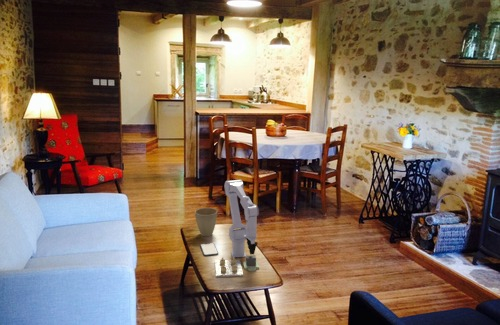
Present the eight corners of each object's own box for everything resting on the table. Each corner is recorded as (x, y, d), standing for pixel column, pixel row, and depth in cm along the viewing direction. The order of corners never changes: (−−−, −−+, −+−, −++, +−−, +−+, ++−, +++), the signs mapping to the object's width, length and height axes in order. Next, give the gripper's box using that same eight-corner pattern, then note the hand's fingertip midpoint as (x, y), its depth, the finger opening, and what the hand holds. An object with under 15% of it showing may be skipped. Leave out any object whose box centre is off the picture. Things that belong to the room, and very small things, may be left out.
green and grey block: (242, 262, 234) (242, 252, 233) (256, 261, 235) (257, 252, 234) (244, 271, 224) (244, 261, 222) (259, 270, 225) (259, 260, 223)
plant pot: (193, 231, 280) (193, 208, 277) (215, 229, 284) (215, 207, 281) (196, 239, 266) (196, 215, 263) (219, 237, 270) (219, 214, 267)
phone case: (218, 256, 244) (214, 245, 259) (218, 253, 244) (213, 242, 259) (203, 257, 242) (199, 246, 257) (203, 255, 241) (199, 243, 256)
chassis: (215, 262, 234) (214, 254, 233) (239, 261, 236) (239, 253, 235) (216, 277, 216) (216, 269, 216) (243, 276, 218) (243, 268, 217)
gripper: (242, 223, 231) (242, 246, 234) (245, 232, 217) (245, 257, 220) (255, 222, 232) (255, 245, 235) (258, 232, 218) (258, 256, 221)
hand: (251, 251), depth 228 cm, fingers open, 7 cm apart
